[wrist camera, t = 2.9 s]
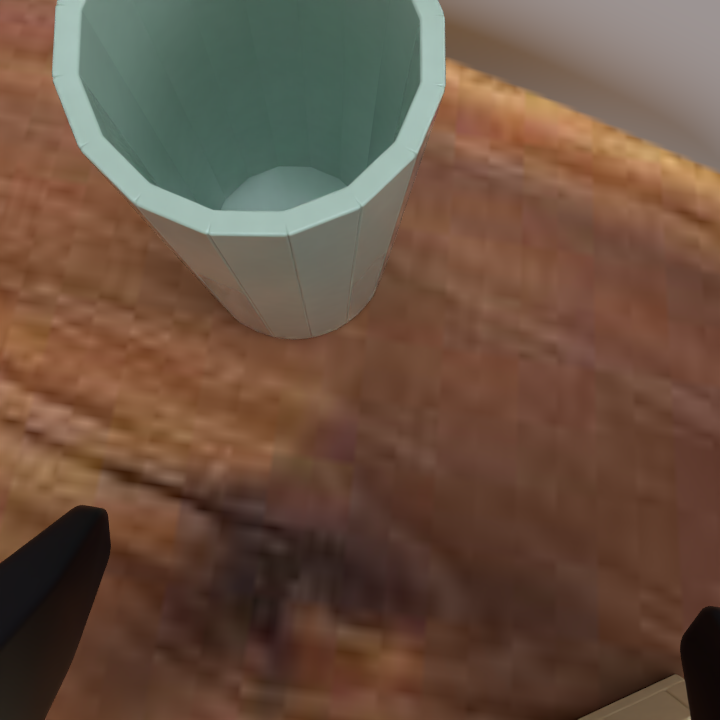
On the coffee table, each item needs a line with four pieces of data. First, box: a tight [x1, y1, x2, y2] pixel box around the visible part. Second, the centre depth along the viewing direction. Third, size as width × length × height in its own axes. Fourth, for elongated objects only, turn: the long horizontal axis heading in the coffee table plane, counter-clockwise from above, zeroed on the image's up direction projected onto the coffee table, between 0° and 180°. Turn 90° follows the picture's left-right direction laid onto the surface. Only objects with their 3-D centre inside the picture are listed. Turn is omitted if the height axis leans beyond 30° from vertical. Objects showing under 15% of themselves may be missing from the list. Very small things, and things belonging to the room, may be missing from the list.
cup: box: [52, 0, 446, 339], centre depth 18 cm, size 7×7×13 cm
